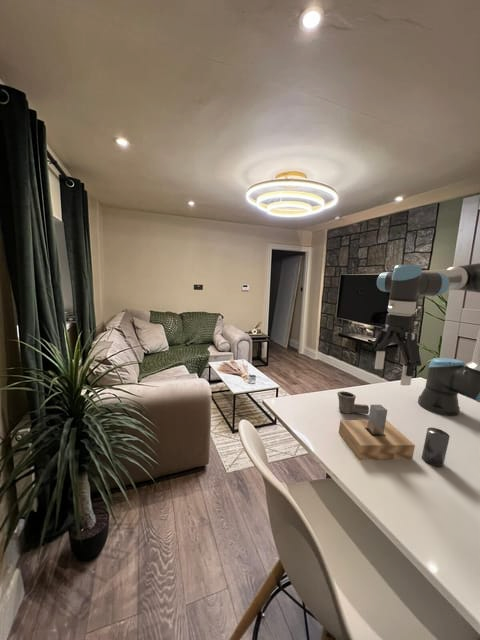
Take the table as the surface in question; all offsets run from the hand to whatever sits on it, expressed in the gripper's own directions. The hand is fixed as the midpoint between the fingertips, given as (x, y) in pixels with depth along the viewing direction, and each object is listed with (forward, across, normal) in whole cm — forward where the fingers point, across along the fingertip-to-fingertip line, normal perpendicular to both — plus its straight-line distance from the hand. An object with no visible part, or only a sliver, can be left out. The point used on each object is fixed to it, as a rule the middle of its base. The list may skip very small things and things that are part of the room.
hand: (390, 376), depth 87 cm
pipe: (+25, -19, -1) cm, 31 cm away
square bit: (+24, +2, -4) cm, 25 cm away
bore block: (+24, +2, -4) cm, 25 cm away
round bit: (+24, +10, +11) cm, 28 cm away
